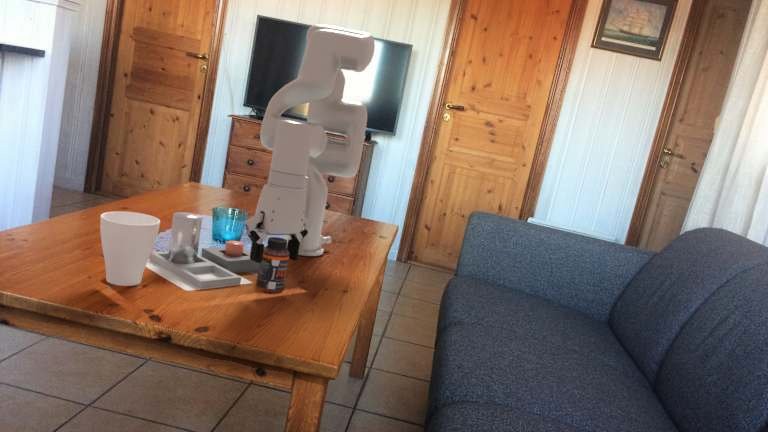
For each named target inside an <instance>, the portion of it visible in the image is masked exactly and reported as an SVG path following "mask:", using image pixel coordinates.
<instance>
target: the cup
mask: <svg viewBox="0 0 768 432" xmlns="http://www.w3.org/2000/svg"><path fill="white" fill-rule="evenodd" d="M99 217H100V220H99V221H100V222H99V223H100V225H99V230H100V231H99V232H100V240H101V248H102V253H103V258H104V265H105V280H106V282H107V283H109V284H110V285H115V286H121V287H123V286H124V287H129V286H130V287H132V286H137V285H140V284H141V283H142V278H143V274H144V272H145V270H146V268H147V267H146V264H147V262H148V259H150V257H151V253H153V250H154V247H155V244H156V240H157V238H158V235H159V230H160V225H161V220H160V219H159V218H158V217H156V216H153V215H150V214H146V213H141V212H133V211H117V210H116V211H106V212H103V213H101V214H100V216H99ZM105 286H106V287H107V288H108V289H110V290H114V289H113V288H112V287H111V286H109V285H107V284H106V285H105Z"/></svg>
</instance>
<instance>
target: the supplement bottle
mask: <svg viewBox="0 0 768 432" xmlns="http://www.w3.org/2000/svg"><path fill="white" fill-rule="evenodd" d="M267 238H268V239H267V245H266V246H264V251H263V257H262V262H261V263H260V264H259V271H258V272H257V278H256V286H258V287H260V288H264V289H267V290H263V291H262V292H264V293H265V294H266V293H267V294H271V295H273V294H274V295H275V294H280V293H282V292H283V291H284V288H285V285H286V278H287V271H288V265H289V261H290V259H289V255H290V254H289V251H288V250H287V248H286V246H287V240H286V239H285V238H282V237H277V236H270V237H267Z"/></svg>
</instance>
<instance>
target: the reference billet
mask: <svg viewBox="0 0 768 432" xmlns="http://www.w3.org/2000/svg"><path fill="white" fill-rule="evenodd" d="M203 218H204V217H203V216H202V215H200V214H199V213H198V214H197V213H193V212H185V211H184V212H181V211H180V212H179V211H178V212H173V215H172V220H171V221H172V223H171V228H170V229H171V231H170V238H169V239H170V240H169V245H168V246H169V247H168V252H169V253H168V260H169V261H171V262H173V263H174V264H188V263H196V262H197V255H199V254H198V253H199V246H200V239H201V230H202V224H203Z"/></svg>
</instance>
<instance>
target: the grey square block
mask: <svg viewBox="0 0 768 432" xmlns="http://www.w3.org/2000/svg"><path fill="white" fill-rule="evenodd" d="M250 252H251V250H248V249H247V248H243V255H242V256H239V257H230V256H228V255H226V254H224V253H225V246H218V247H202V248H201V254H200V256H201V257H203V258H205V259H207V260H209V261H211V262H213V263H215V264H217V265H219V266H221V267H223V268H224V269H226V270H228V271H230V272H232V273H235V274H237V273H239V274H240V273H246V272H257V271H259V264H260V263H257V262H255V261H252V260H250Z"/></svg>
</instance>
